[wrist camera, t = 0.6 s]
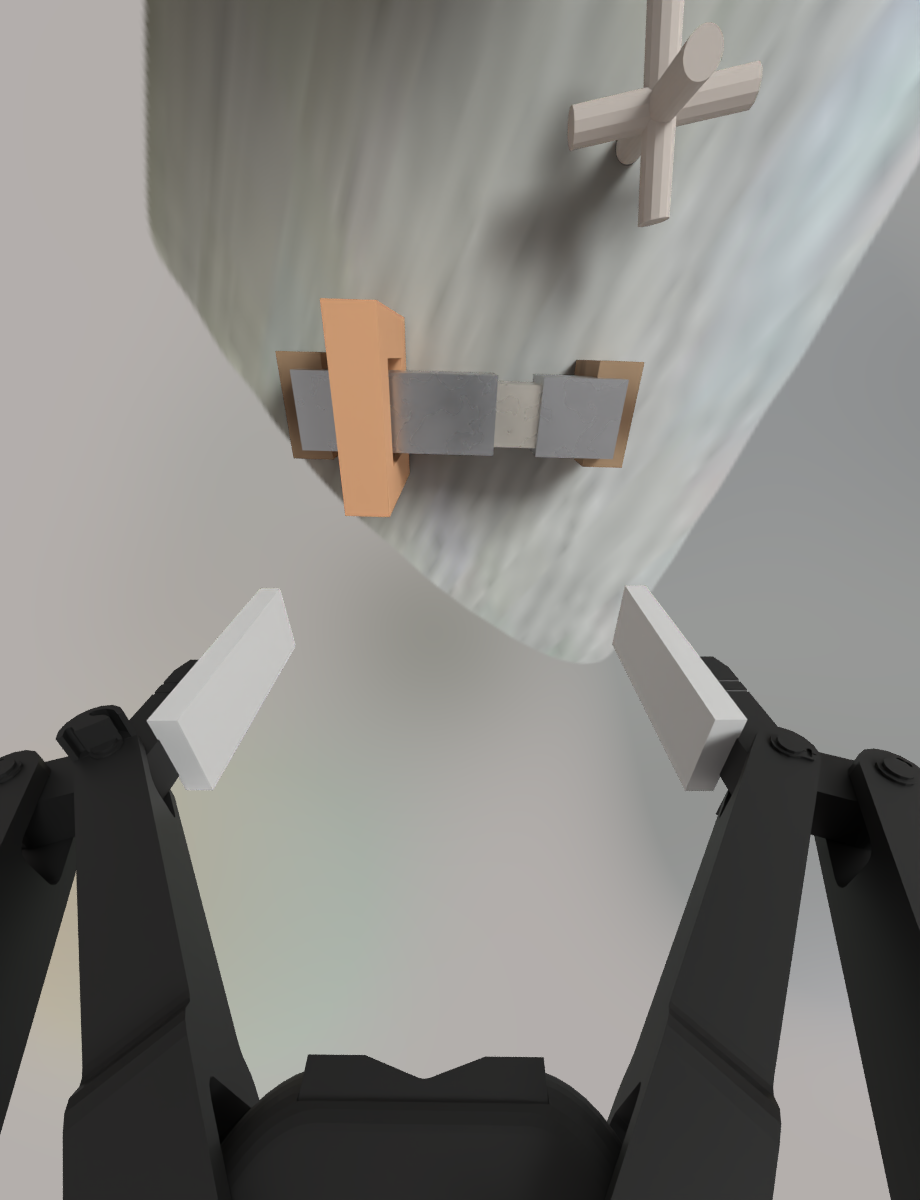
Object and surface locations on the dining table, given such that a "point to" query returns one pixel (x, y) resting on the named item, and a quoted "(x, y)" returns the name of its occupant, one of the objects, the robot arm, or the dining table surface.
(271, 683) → the robot arm
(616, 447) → the stand
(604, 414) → the grey long bar
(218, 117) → the dining table surface
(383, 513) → the peach rectangular loop
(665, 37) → the pipe connector
